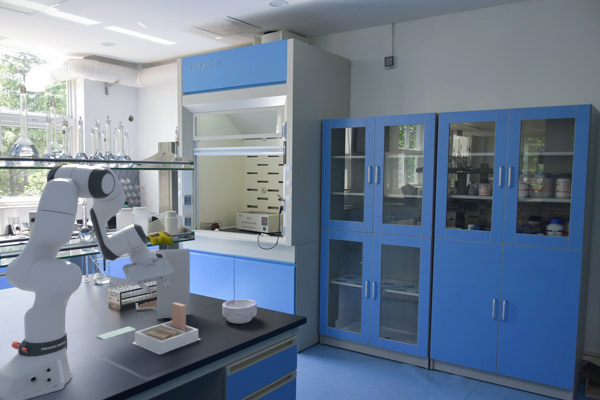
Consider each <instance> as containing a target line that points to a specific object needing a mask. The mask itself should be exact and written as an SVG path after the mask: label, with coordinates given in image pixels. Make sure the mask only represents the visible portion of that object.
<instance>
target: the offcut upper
mask: <svg viewBox="0 0 600 400" xmlns="http://www.w3.org/2000/svg"><path fill="white" fill-rule="evenodd" d="M146 335H148V336H151V337H153V338H156V339H158V340H161V341H163V340H166V339H168V338H171V337H174V336H177V332H175V331H172V330H168V329H164V328H157V329H155V330H152V331H150V332H147V333H146Z"/></svg>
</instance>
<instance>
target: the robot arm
mask: <svg viewBox="0 0 600 400" xmlns="http://www.w3.org/2000/svg"><path fill="white" fill-rule="evenodd" d="M114 172H115V171H113V170H112V169H111V167H109V166H108V165H106V164H100V163H99V164H95V165H93V166H92V165H85V164H79V163H77V164H76V163H75V164H68V163H60V164H55V165H54V166H52V167H51V169H49V171H48V173H47V176H46V184H45V186H44V188H43V191H42V192H41V195H40V197H39V202H38V204H37V205H38V206H37V209H36V212H35V213H36V214H35V218H34V222H33V226H32V229H31V230H32V231H31V234H30V236H29V237H28V240H27V243H26V244H25V246H24V248H23V250H22V251H21V252H20V253H19V255H17V256H16V257H15V258H14V259H12V260H11V261H10V262H9V263H8V265H7V267H6V270H5V278H6V280H7V282H8V284H10V285H12V286H13V287H14V288H17V289H19V290H20V291H21V290H22V291H25V292H30V293H31V292H32V293H34V295H35V297H34V302H33V305H32V307H30V308H29V309H27V310H26V311H25V314H24V317H23V320H24V325H23V327H24V338H23V340H22V341H18V340H15V341H13V342H12V343H11V347H12V348H13V349H15V350H17V353H16V354H15V355H14V356H13V357H12V358H11V359H10V360H9V361H8V362H7V363H5V365H3V366H1V368H0V400H29V399H33V398H36V397H39V396H43V395H46V394H50V393H54V392H57V391H61V390H63V389H64V388H65V386H66V384H67V383H68V382H69V381H70V380H71V379H72V377H73V374H72V372H71V369H70V365H69V361H68V360H69V359H68V354H67V350H68V334H67V332H66V310H67V306H68V302H69V300H70V298H71V296H72V295H73V294H74V293H75V292H76V291H77V290H78V289H79V288H80V286H81V284H82V282H83V272H82V270H81V268H80V266H79V265H78V264H77V263H73V262H71V261H69V260H67V259H64V258H57V256H58V254H59V252H60V251H61V249H62V248H63V247H64V246H66V245H67V244H68V243H70V241H71V239H72V237H73V233H74V229H75V225H76V224H75V223H76V219H77V218H76V217H77V213H78V204H79V198H80V199H92V201H93V205H92V207H91V208H90V209H89V216H90V217H89V218H90V220H91V225H92V227H93V232H94V234H95V237H96V242H97V248H98V252H99V254H100V255H101V257H102V258H103V259H104V260H106V261H114V262H115V260H117V259H119V258H120V257H121V256H123V255H125V254H126V255H128V256H129V260H130V262H131V263H128V264H124V266H123V267H122V272H123V273H124V275H125V279H126V281H127V284H128V285H129V286H131V287H134V286H139V287H140V288H141V289H142V290H143V291H144V293H150V291H151V288H150V286H149V285H146V284H147V283H151V282H156V281H157V280H161V279H163V280H164V281H165V283H164V286H165V288H166V287H169V286H170V284H169V282H168V281H169V278H170V277H171V276H172V275H173V273H174V270H173V268H172V266H171V265H170V263H169V262H168V261H167V260H166V259H165V256H164V254H159V253H156V252H154V251H151V249H150V248H149V247H148V246H147V245H148V240H149V238H148V236H147V234H146V233H145V231H144V229H143V226H142V225H139V224H136V223H132V224H130V225H127V226H125V227H123V228H121V229H119V230H117V231H114V232H113V233H110V234H108V232H107V228H106V224H107V223H108V222H109V220H111V218H113V217H114V216H115V215H117V214H118V213H119V212H120V211H121V210H122V208H123V207H124V205H125V203H126V199H127V197H126V193H125V189H124V188H123V186H122V183H121V181H120V179H119V178H118V176H117V175H116V174H115V173H114Z"/></svg>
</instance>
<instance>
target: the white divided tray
mask: <svg viewBox="0 0 600 400" xmlns="http://www.w3.org/2000/svg"><path fill="white" fill-rule="evenodd" d="M157 328H164V329H168V330H172V331H175V332H177V336H174V337H171V338H168V339H166V340H163V341H161V340H158V339H156V338H153V337H151V336H148V335H146V333H147V332H150V331H152V330H155V329H157ZM200 340H201V338H199V329H198V328H195V327H192V326H189V325H187V324H186V332H184V331H181V330H178V329H175V328H173V327H172V320H169V321H166V322H163V323H160V324H157V325H153V326H150V327H146V328H144V329H140V330H138V331H135V332H134V342H133V341H132V344H134V345H136V346H138V347H141V348H142V349H145V350H148V351H150V352H153V353H154V354H158V355H160V356H161V355H163V354H166V353H168V352H170V351H173V350H176V349H179V348H181V347H184V346H186V345H190V344H192V343H194V342H197V341H200Z"/></svg>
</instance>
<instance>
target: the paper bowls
mask: <svg viewBox="0 0 600 400" xmlns="http://www.w3.org/2000/svg"><path fill="white" fill-rule="evenodd" d="M221 306H222V307H221V308H222V312H221V313H222V317H224V318H227V321H228V322H229V323H232V324H238V325H240V324H241V325H242V324H247V323H249V322H250V321H252V320H253V318H254V317H255V316H257V313H258V303H257V301H255V300H253V299H249V298H237V299H236V298H234V299H229V300H227V301H224V302H223V303H222V305H221Z"/></svg>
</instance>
